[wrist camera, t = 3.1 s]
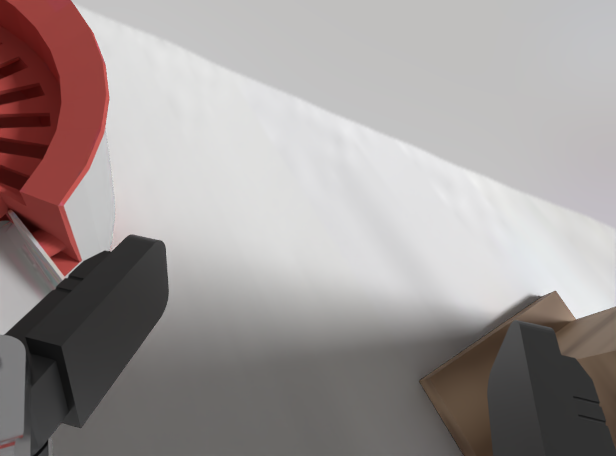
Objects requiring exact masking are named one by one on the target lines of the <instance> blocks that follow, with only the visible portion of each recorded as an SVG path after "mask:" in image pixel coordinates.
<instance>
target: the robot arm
mask: <svg viewBox="0 0 616 456" xmlns="http://www.w3.org/2000/svg"><path fill="white" fill-rule="evenodd" d="M168 294H169V289H168V275H167V261H166V248H165V244H164V243H163V242H162V241H160V240H155V239H151V238H146V237H142V236H137V235H129V236H127V237H126V238H125V239H124V240H123V241H122V242H121V243H120V244H119V245H118V246H117V247H116V248H115V249H114V250H113V251H112V252H110V251H106V250H104V251H102V252H100V253H98V254H96V255H94V256H92V257H90V258H88V259H86V260H84V261H83V262H82V263H81V264H80V265H79V266H78V267H76V268H75V269H74V270H73V271H72V272H71V273H70V274H69V275H68V278H65V279H64V280H62V281H61V282H60V283H59V284H58V285H57V286H56V289H55V290H52V291H51V292H50V293H48V294H47V295H46V296H45V297H44V298H43V299H42V300H41V301H40V302H39V303H38V304H37V305H36V306H35V307H33V308H32V309H31V310H30V311H29V312H28V313H27V314H26V315H25V316H24V317H23V318H22V319H21V320H19V321H18V322H17V323H16V324H15V325H14V326H13V327H12V328H11V329H10V330H9V331H8V332H7V333H5V334H4V335H0V456H53V443H52V437H51V435H52V434H53V433H54V431H55V430H56V429H57V427H58V426H59V425H60V423H65V424H68V425H72V426H75V427H79V428H81V427H82V426H83V425H84V423H85V422H86V420H87V419H88V418H89V416H90V415H91V413H92V412H93V411H94V409H95V408H96V406H97V405H98V404H99V402H100V401H101V400H102V398H103V397H104V395H105V394H106V393H107V391H108V390H109V388H110V387H111V386H112V384H113V383H114V381H115V380H116V379H117V377H118V376H119V375H120V373H121V372H122V370H123V369H124V368H125V366H126V365H127V363H128V362H129V361H130V359H131V358H132V357H133V355H134V354H135V352H136V351H137V350H138V348H139V347H140V345H141V344H142V343H143V341H144V340H145V338H146V337H147V336H148V334H149V333H150V332H151V330H152V329H153V327H154V326H155V325H156V323H157V322H158V320H159V319H160V318H161V316H162V314H163V312H164V310H165V308H166V305H167V301H168ZM487 399H488V409H489V419H490V429H491V439H492V450H493V456H616V449H615V446H614V443H613V440H612V437H611V434H610V431H609V428H608V426H606V419H605V416H604V413H603V410H602V407H600V406H599V403H600V401H599V398H598V395H597V392H596V389H595V386H594V383H593V380H592V379H591V377H590V376H589V375H588V374H587V372H586V371H585V370H584V368H583V367H582V366H581V365H580V363H579V362H578V361H577V360H576V358H573V357H568V356H564V355H561V352H560V349H559V345H558V342H557V338H556V334H555V332H554V330H553V329H552V328H550V327H546V326H541V325H537V324H532V323H528V322H523V321H519V320H514V321H513V322H512V323H511V325H510V326H509V329H508V331H507V333H506V336H505V338H504V340H503V343H502V345H501V347H500V350H499V352H498V354H497V357H496V359H495V361H494V364H493V366H492V368H491V371H490V375H489V380H488V388H487Z"/></svg>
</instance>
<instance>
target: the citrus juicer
mask: <svg viewBox="0 0 616 456" xmlns="http://www.w3.org/2000/svg"><path fill="white" fill-rule="evenodd" d="M108 104H109V91H108V82H107V73H106V65H105V62H104V59H103V57H102V54H101V52H100V49H99V46H98V44H97V41H96V39H95V36H94V33H93V32H92V30H91V29H90V27H89V26H88V25H87V23H86V22H85V20H84V19H83V17H82V16H81V14H80V13H79V11H78V10H77V8H76V7H75V5H74V4H73V3H72V1H71V0H0V335H4V334H5V333H7V332H8V331H9V330H10V329H11V328H12V327H13V326H14V325H15V324H16V323H17V322H18V321H19V320H21V319H22V318H23V317H24V316H25V315H26V314H27V313H28V312H29V311H30V310H31V309H32V308H33V307H35V306H36V305H37V304H38V303H39V302H40V301H41V300H42V299H43V298H44V297H45V296H46V295H47V294H48V293H50V292H51V291H52V290H55V289H56V286H57V285H58V284H59V283H60V282H61V281H62V280H64V279H65V278H68V275H69V274H70V273H71V272H72V271H73V270H74V269H75V268H76V267H78V266H79V265H80V264H81V263H82V262H83V261H84V260H86V259H88V258H90V257H92V256H94V255H96V254H98V253H100V252H102V251H104V250H106V251H109V250H110V247H111V244H112V237H113V229H114V221H115V198H114V189H113V180H112V172H111V164H110V157H109V149H108V142H107V135H106V127H105V125H106V118H107V111H108Z"/></svg>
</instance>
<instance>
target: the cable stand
mask: <svg viewBox="0 0 616 456" xmlns="http://www.w3.org/2000/svg"><path fill="white" fill-rule="evenodd" d="M514 320H519V321H523V322H528V323H532V324H537V325H541V326H546V327H550V328H552V329H553V330H554V332H555V334H556V338H557V342H558V345H559V349H560V352H561V355H564V356H568V357H573V358H576V360H577V361H578V362H579V363H580V365H581V366H582V367H583V368H584V370H585V371H586V372H587V374H588V375H589V376H590V377H591V379H592V380H593V383H594V386H595V389H596V392H597V395H598V398H599V401H600V403H599V406H600V407H602V410H603V413H604V416H605V419H606V426H608V428H609V431H610V434H611V437H612V440H613V443H614V446H615V449H616V307H613V308H610V309H607V310H604V311H601V312H598V313H595V314H592V315H589V316H586V317H583V318H580V319H575V317H574V316H573V315H572V313H571V312H570V310H569V309H568V307H567V306H566V305H565V303H564V302H563V300H562V299H561V297H560V296H559V295H558V293H557V292H556V291H554V292H551V293H549V294H546V295H544V296H542V297H541V298H539V299H538V300H536V301H535V302H533V303H532V304H530V305H529V306H528V307H526V308H525V309H523V310H522V311H520V312H519V313H517V314H516V315H514V316H513V317H511V318H510V319H509V320H507V321H506V322H504V323H503V324H501V325H500V326H498V327H497V328H495V329H494V330H493V331H491V332H490V333H488V334H487V335H485V336H484V337H482V338H481V339H479V340H478V341H477V342H475V343H474V344H472V345H471V346H469V347H468V348H466V349H465V350H463V351H462V352H460V353H459V354H458V355H456V356H455V357H453V358H452V359H450V360H449V361H447V362H446V363H444V364H443V365H442V366H440V367H439V368H437V369H436V370H434V371H433V372H431V373H430V374H428V375H427V376H426V377H424V378H423V379H421V380H420V381H419V382H420V383H421V385H422V387H423V388H424V390H425V392H426V393H427V395H428V397H429V398H430V400H431V402H432V403H433V405H434V407H435V408H436V410H437V412H438V413H439V415H440V417H441V418H442V420H443V422H444V423H445V425H446V427H447V428H448V430H449V432H450V433H451V435H452V437H453V438H454V440H455V442H456V443H457V445H458V447H459V448H460V450H461V452H462V453H463V455H464V456H493V450H492V439H491V429H490V419H489V409H488V399H487V388H488V380H489V375H490V371H491V368H492V366H493V364H494V361H495V359H496V357H497V354H498V352H499V350H500V347H501V345H502V343H503V340H504V338H505V336H506V333H507V331H508V329H509V326H510V325H511V323H512V322H513V321H514Z"/></svg>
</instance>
